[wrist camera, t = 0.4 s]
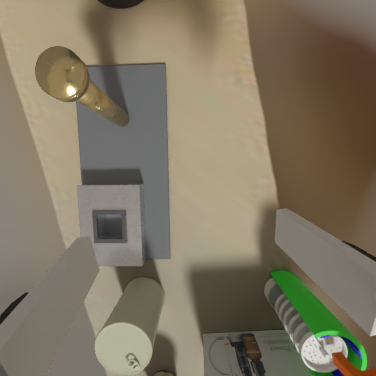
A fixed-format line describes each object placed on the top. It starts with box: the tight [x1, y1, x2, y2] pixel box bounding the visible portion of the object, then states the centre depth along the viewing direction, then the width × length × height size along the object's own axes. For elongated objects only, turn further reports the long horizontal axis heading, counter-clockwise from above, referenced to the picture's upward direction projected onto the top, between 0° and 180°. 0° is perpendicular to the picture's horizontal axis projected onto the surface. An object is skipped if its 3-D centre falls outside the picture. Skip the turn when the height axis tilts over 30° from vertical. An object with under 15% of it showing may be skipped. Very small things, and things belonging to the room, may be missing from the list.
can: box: [95, 277, 165, 375], centre depth 33 cm, size 9×9×12 cm
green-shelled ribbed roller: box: [264, 270, 376, 376], centre depth 28 cm, size 9×8×18 cm
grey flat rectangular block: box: [77, 184, 147, 266], centre depth 35 cm, size 16×12×3 cm
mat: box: [76, 64, 170, 259], centre depth 36 cm, size 39×18×1 cm, turn 1°
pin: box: [35, 46, 130, 127], centre depth 27 cm, size 5×5×16 cm
